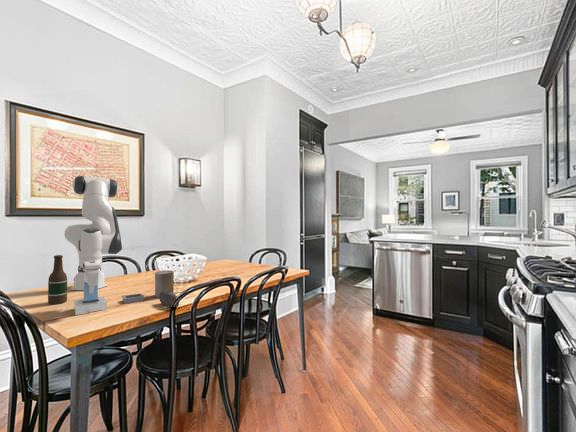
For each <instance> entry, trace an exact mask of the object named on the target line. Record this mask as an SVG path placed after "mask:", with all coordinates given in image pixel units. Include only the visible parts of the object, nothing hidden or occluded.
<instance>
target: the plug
mask: <svg viewBox="0 0 576 432" xmlns="http://www.w3.org/2000/svg"><path fill="white" fill-rule="evenodd" d="M98 290H99V289H98V285H97V286H94V293H93V294H89V286H88V284H87V282H84V290H83V299H84V301H89V300H96V299H98V297H99V296H98V295H99V294H98V293H99V292H98Z"/></svg>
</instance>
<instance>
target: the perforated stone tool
mask: <svg viewBox="0 0 576 432" xmlns="http://www.w3.org/2000/svg"><path fill="white" fill-rule="evenodd" d="M176 297H178V296H177V295H176V294H175V293H174V292H173V293H172V292H170V291H166V290H165V291H162V292H161V293H160V298H158V299H159V302H160V303H161V304H162V305H163V306H166V307H168V308H171V306H172V304H173V302H174V300H175V299H176ZM179 305H180V301H179V302H178V304H177V305H176V308H175V309H177V308H178V307H179Z"/></svg>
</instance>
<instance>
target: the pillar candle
mask: <svg viewBox="0 0 576 432" xmlns="http://www.w3.org/2000/svg"><path fill="white" fill-rule="evenodd" d="M174 282H175V281H174V270H166V269H164V270H160V271H159V270H158V271H156V272H155V273H154V297H155V298H158V299H159V298H160V293H161V292H162V291H165V290H166V291H170V292H172V293H174V291H175V290H174V289H175V288H174V285H175V283H174Z"/></svg>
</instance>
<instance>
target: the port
mask: <svg viewBox="0 0 576 432" xmlns="http://www.w3.org/2000/svg"><path fill="white" fill-rule="evenodd" d="M107 304H108V302H107V300H106V298H105V296H98V299H96V300H89V301H84V298H81V299H75V300H73V310H74V315H75V316H80V315H85V314H90V313H93V312H99V311H100V312H101V311H107V309H108V305H107Z"/></svg>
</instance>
